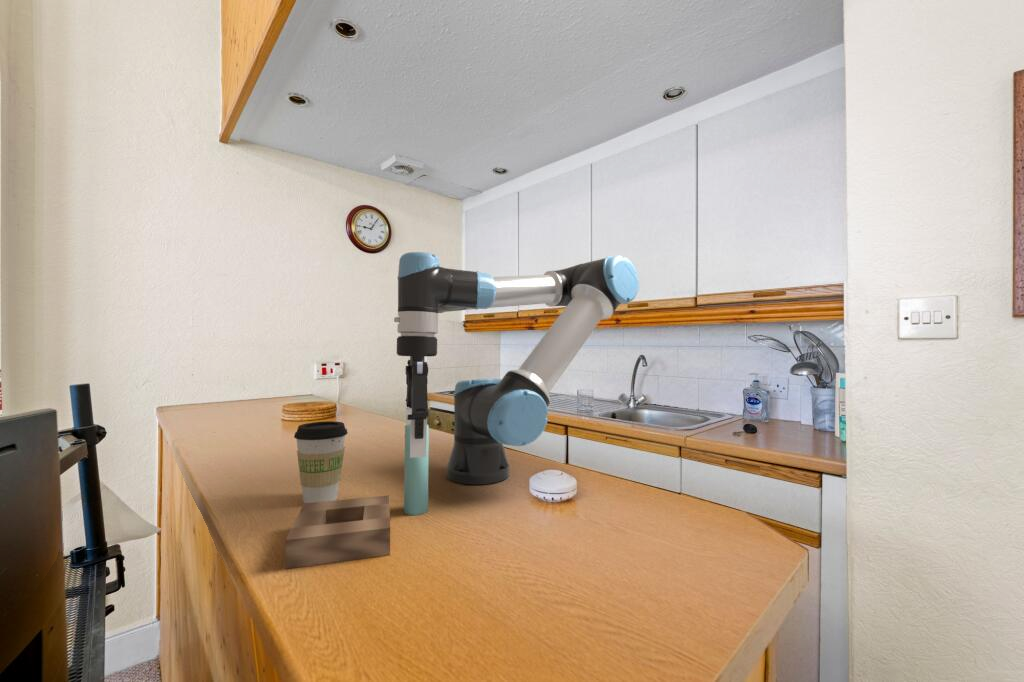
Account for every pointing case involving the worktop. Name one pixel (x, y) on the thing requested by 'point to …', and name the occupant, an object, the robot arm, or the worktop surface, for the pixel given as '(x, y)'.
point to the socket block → (339, 532)
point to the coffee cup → (320, 459)
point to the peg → (415, 479)
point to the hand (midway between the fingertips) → (415, 447)
